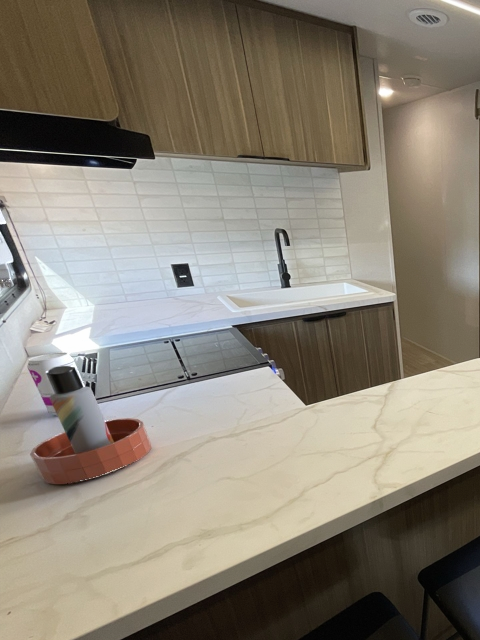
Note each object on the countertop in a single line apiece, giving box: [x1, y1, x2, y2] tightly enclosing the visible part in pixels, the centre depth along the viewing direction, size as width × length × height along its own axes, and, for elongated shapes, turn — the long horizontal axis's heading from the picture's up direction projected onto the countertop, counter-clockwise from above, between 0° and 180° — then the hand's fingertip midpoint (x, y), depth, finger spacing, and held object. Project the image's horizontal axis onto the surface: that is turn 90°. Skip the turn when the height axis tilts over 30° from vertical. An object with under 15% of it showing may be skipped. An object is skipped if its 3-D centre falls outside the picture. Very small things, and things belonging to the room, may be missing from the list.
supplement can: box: [26, 352, 86, 416], centre depth 105 cm, size 8×8×15 cm
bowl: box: [29, 417, 152, 485], centre depth 81 cm, size 16×16×6 cm
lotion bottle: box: [46, 366, 114, 454], centre depth 78 cm, size 6×6×20 cm
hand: (1, 289), depth 79 cm, fingers open, 8 cm apart
